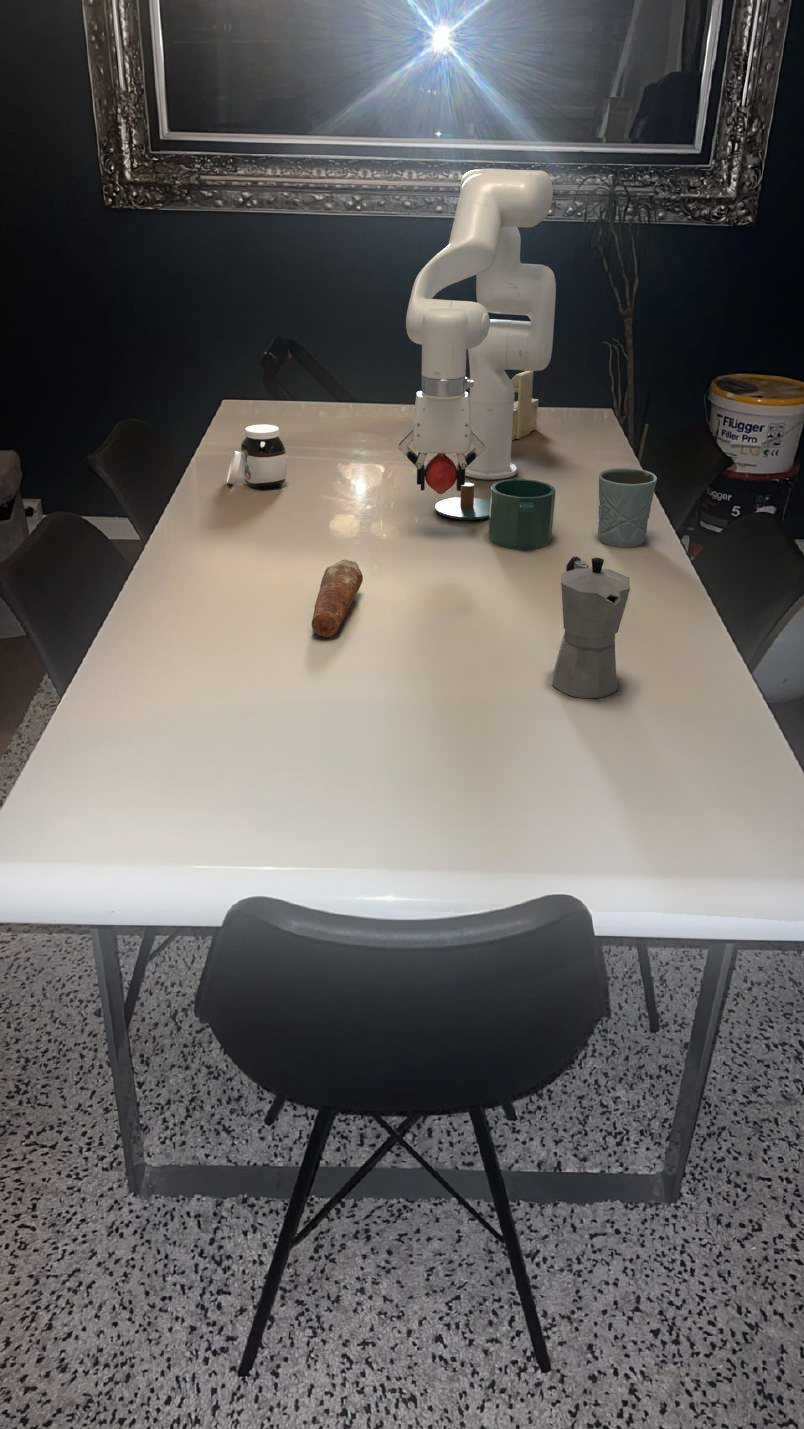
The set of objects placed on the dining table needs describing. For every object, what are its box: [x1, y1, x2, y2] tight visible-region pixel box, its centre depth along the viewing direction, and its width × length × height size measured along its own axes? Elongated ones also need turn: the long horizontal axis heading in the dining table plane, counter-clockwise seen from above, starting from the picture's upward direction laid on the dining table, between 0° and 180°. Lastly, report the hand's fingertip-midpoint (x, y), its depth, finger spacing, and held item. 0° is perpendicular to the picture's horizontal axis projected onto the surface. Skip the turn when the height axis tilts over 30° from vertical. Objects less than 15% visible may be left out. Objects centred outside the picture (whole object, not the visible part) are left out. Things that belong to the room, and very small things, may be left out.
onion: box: [425, 453, 457, 495], centre depth 185 cm, size 6×6×8 cm
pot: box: [487, 477, 557, 551], centre depth 188 cm, size 11×17×10 cm
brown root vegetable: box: [311, 559, 364, 638], centre depth 158 cm, size 6×19×6 cm, turn 171°
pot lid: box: [434, 482, 490, 521], centre depth 202 cm, size 12×12×6 cm
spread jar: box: [226, 423, 288, 490], centre depth 215 cm, size 12×11×12 cm
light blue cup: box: [597, 467, 658, 548], centre depth 188 cm, size 10×10×12 cm
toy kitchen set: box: [510, 370, 539, 441], centre depth 254 cm, size 18×17×15 cm
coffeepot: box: [551, 556, 631, 699], centre depth 137 cm, size 15×9×18 cm, turn 13°
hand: (440, 487), depth 186 cm, fingers closed on onion, 5 cm apart
